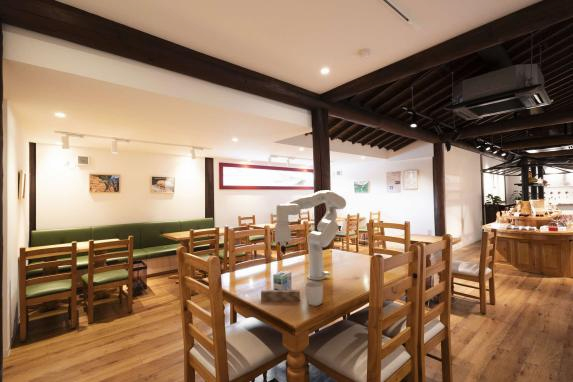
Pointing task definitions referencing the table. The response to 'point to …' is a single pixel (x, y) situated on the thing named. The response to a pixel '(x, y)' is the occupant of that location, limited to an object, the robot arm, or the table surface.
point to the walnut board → (280, 295)
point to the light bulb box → (282, 280)
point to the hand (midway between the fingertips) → (283, 252)
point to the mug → (314, 293)
